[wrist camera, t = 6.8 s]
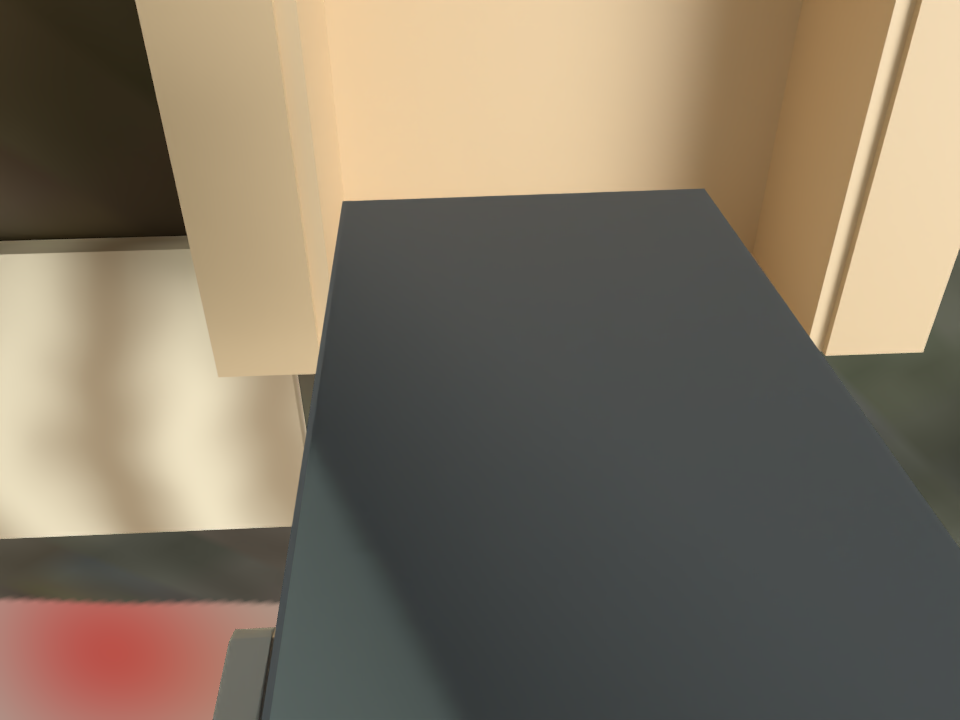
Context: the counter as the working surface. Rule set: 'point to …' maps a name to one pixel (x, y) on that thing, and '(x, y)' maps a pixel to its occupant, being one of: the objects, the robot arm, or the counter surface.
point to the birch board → (131, 399)
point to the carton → (564, 140)
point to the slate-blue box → (595, 485)
